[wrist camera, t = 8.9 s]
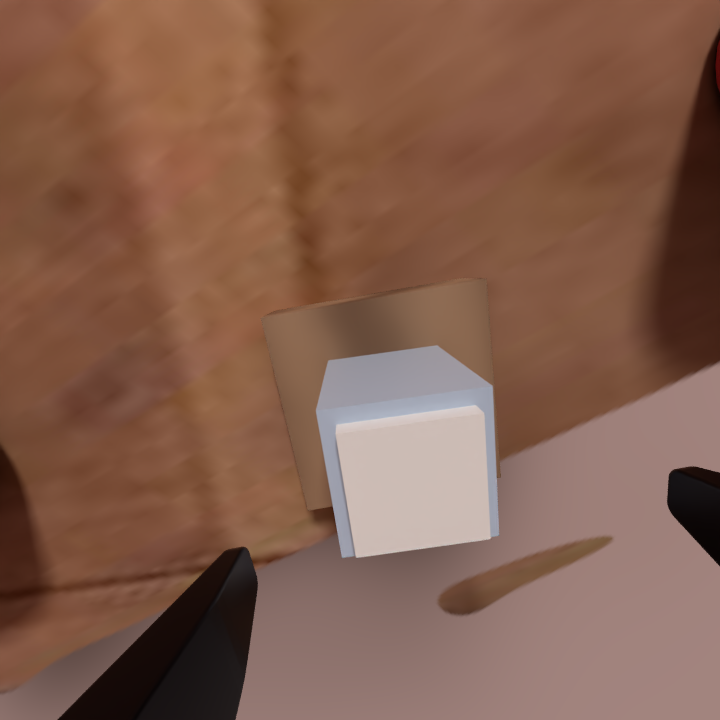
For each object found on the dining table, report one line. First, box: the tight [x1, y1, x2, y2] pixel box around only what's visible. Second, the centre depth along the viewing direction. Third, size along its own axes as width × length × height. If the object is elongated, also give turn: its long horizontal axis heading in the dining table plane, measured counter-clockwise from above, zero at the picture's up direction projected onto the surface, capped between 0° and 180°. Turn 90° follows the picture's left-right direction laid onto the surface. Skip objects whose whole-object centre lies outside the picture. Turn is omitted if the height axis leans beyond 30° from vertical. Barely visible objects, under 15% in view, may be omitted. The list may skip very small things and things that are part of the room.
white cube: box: [316, 345, 499, 558], centre depth 13 cm, size 5×5×7 cm
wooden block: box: [261, 278, 501, 511], centre depth 17 cm, size 10×10×4 cm
